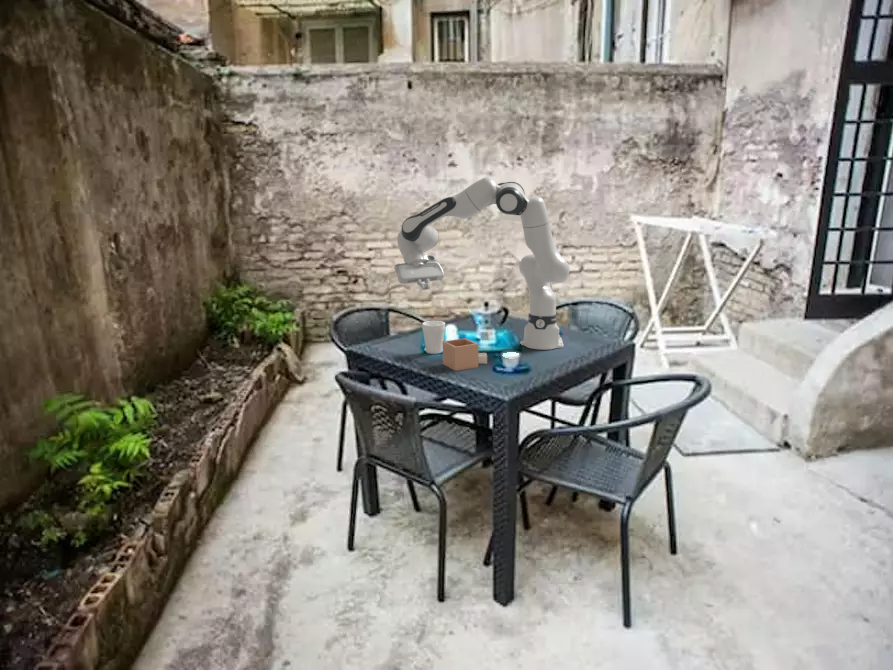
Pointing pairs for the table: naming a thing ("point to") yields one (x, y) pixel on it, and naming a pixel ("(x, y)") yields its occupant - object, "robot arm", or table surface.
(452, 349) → the planter
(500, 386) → the table surface
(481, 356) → the limestone block
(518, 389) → the table surface
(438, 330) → the foam cup
